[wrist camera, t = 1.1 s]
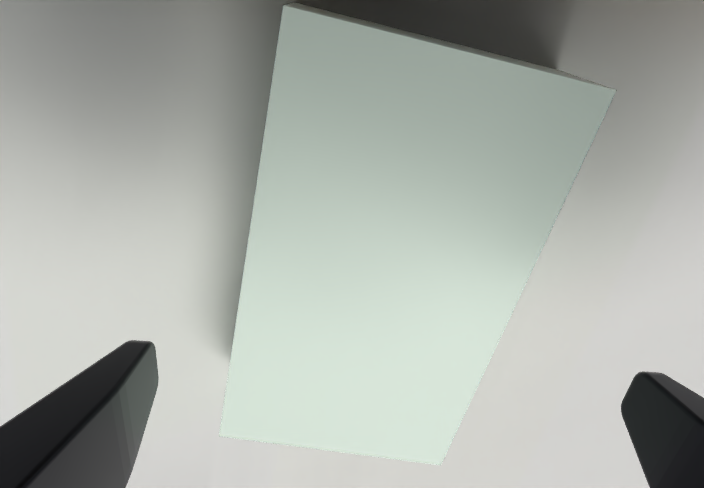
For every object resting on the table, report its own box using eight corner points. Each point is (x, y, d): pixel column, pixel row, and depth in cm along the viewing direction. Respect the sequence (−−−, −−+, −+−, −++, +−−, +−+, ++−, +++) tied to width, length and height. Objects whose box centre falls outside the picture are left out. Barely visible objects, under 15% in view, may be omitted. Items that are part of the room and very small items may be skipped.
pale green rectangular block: (550, 67, 12) (616, 90, 9) (422, 386, 17) (440, 465, 14) (296, 2, 11) (282, 4, 8) (239, 358, 16) (219, 436, 13)
